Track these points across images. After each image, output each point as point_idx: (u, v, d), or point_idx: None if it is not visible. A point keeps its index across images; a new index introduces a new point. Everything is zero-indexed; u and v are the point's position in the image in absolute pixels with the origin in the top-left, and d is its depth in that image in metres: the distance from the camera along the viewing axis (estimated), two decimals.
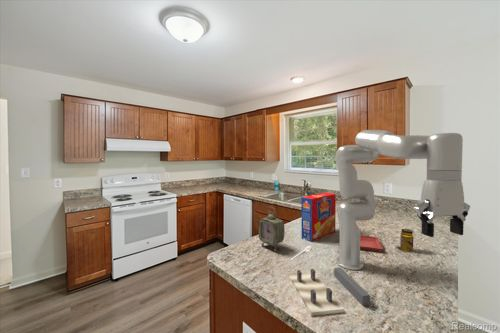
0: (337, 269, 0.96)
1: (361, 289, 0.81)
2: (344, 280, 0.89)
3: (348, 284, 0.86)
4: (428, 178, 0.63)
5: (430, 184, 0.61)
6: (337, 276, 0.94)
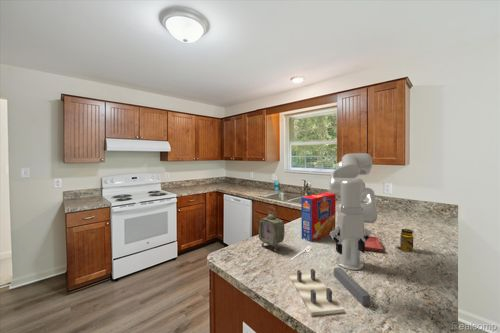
0: (337, 269, 0.96)
1: (361, 289, 0.81)
2: (344, 280, 0.89)
3: (348, 284, 0.86)
4: (340, 211, 0.87)
5: (340, 216, 0.86)
6: (337, 276, 0.94)
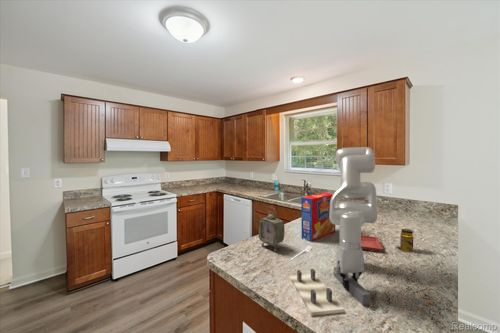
0: None
1: (361, 288, 0.81)
2: None
3: None
4: (340, 244, 0.88)
5: (340, 250, 0.86)
6: (337, 275, 0.94)
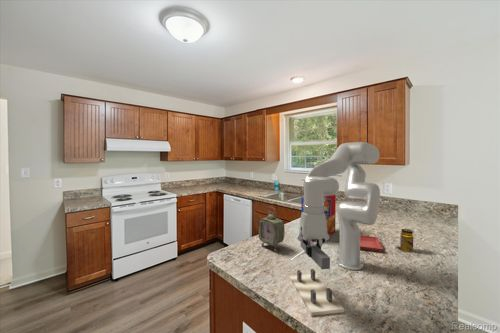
0: (303, 238, 0.93)
1: (322, 253, 0.78)
2: None
3: (311, 250, 0.83)
4: None
5: (302, 216, 0.84)
6: (303, 245, 0.92)
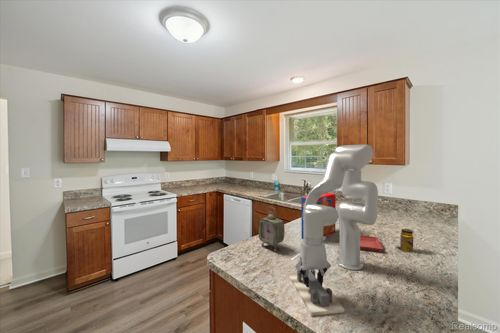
0: None
1: (322, 289, 0.79)
2: None
3: (311, 284, 0.84)
4: (303, 240, 0.86)
5: (302, 246, 0.84)
6: None
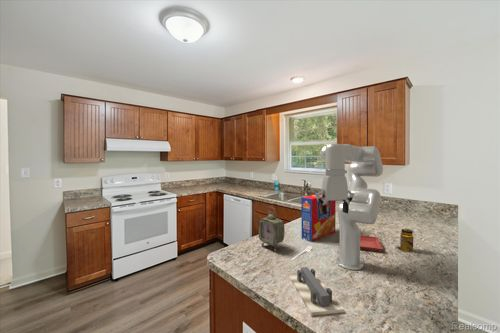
0: (303, 269, 0.94)
1: (322, 289, 0.79)
2: (308, 280, 0.87)
3: (311, 284, 0.84)
4: None
5: (325, 179, 0.90)
6: (303, 276, 0.92)
